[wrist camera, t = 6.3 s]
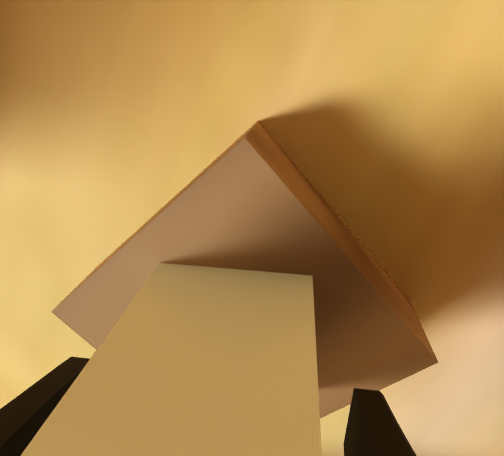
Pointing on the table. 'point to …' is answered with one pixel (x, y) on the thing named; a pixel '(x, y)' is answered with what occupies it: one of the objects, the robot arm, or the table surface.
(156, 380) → the cream cube with panel
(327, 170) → the table surface
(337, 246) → the walnut box
